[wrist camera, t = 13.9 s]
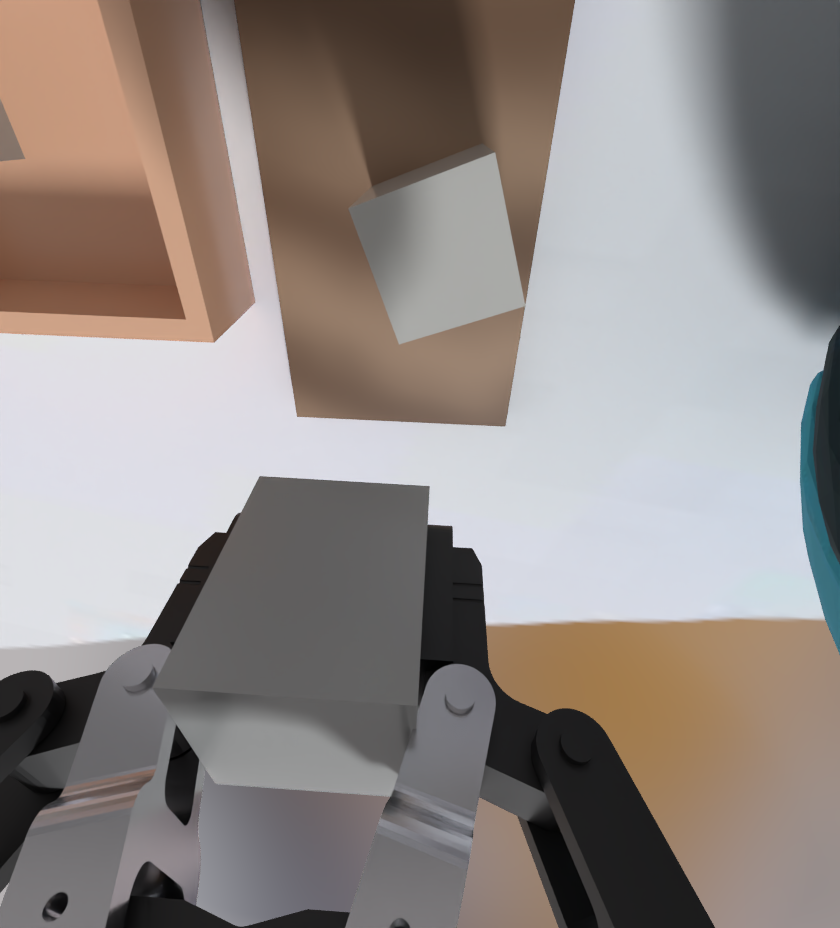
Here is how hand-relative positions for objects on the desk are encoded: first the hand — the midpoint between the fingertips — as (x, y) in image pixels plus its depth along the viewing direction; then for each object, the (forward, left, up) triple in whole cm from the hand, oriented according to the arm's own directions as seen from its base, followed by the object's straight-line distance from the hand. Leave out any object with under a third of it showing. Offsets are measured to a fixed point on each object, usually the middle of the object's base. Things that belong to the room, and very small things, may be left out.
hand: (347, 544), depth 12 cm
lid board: (-6, +1, -12) cm, 13 cm away
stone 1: (0, 0, 0) cm, 0 cm away
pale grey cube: (-6, +2, -11) cm, 12 cm away
